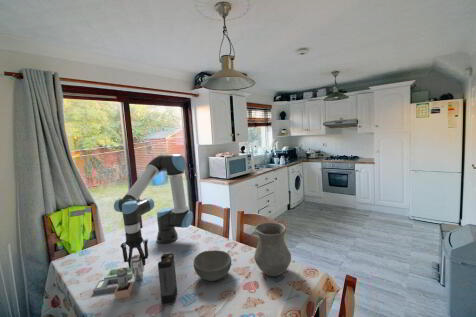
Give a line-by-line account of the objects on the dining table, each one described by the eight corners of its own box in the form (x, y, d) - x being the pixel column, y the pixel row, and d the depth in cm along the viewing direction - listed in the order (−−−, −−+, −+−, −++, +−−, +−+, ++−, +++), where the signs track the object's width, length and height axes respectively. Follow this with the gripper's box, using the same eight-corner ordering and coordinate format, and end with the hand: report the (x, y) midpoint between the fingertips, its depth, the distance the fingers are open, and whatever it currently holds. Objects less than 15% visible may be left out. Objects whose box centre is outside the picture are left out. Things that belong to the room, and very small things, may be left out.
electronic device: (165, 291, 111) (162, 253, 109) (177, 290, 111) (174, 252, 109) (160, 306, 101) (156, 264, 99) (174, 304, 102) (170, 263, 100)
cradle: (124, 280, 122) (124, 276, 121) (119, 291, 113) (119, 286, 113) (100, 284, 119) (99, 280, 119) (93, 295, 111) (92, 290, 111)
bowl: (202, 294, 108) (200, 274, 107) (190, 272, 126) (189, 255, 125) (238, 279, 117) (237, 261, 116) (223, 261, 135) (222, 245, 134)
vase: (260, 286, 111) (257, 238, 108) (251, 264, 129) (249, 223, 127) (297, 280, 114) (296, 233, 111) (284, 260, 132) (282, 219, 130)
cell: (144, 274, 123) (141, 252, 122) (142, 279, 119) (139, 256, 117) (135, 275, 122) (132, 253, 121) (133, 280, 118) (130, 258, 117)
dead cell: (130, 289, 113) (127, 265, 112) (127, 295, 109) (125, 270, 108) (121, 291, 112) (118, 267, 111) (117, 297, 108) (114, 272, 107)
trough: (135, 270, 131) (135, 265, 131) (132, 278, 123) (131, 273, 123) (110, 274, 128) (109, 269, 128) (104, 283, 120) (104, 277, 120)
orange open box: (133, 288, 114) (132, 281, 114) (129, 297, 108) (128, 290, 108) (119, 291, 113) (118, 283, 113) (115, 300, 107) (114, 292, 106)
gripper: (151, 225, 123) (156, 264, 126) (117, 230, 119) (122, 270, 122) (149, 231, 115) (153, 273, 118) (112, 236, 112) (118, 279, 115)
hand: (138, 271), depth 120 cm, fingers closed on cell, 4 cm apart
